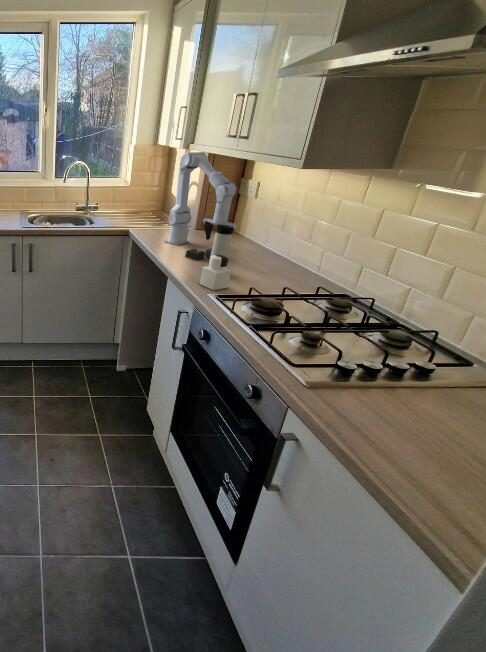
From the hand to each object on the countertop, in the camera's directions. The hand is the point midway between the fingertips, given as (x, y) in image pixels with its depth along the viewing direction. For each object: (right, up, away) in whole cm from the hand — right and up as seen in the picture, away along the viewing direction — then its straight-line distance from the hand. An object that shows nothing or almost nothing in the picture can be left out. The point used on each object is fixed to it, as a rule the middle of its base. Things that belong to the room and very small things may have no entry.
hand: (215, 241), depth 189 cm
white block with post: (-16, -22, -31) cm, 41 cm away
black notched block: (-9, -7, +1) cm, 12 cm away
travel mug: (-8, -15, -16) cm, 24 cm away
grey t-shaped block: (-1, -7, +2) cm, 7 cm away
